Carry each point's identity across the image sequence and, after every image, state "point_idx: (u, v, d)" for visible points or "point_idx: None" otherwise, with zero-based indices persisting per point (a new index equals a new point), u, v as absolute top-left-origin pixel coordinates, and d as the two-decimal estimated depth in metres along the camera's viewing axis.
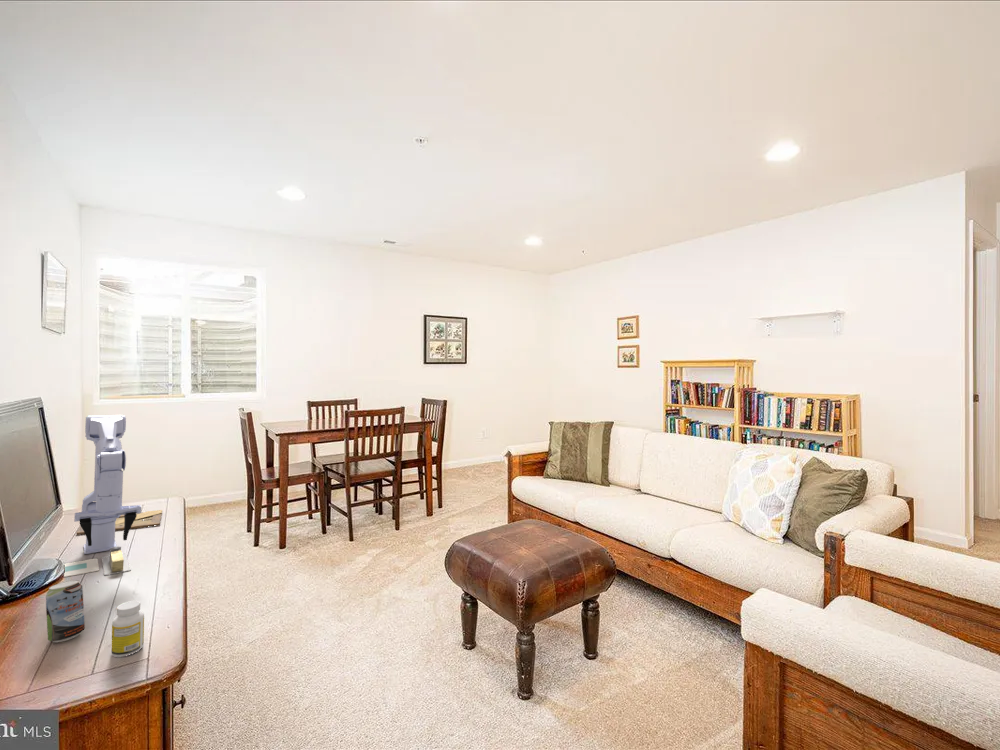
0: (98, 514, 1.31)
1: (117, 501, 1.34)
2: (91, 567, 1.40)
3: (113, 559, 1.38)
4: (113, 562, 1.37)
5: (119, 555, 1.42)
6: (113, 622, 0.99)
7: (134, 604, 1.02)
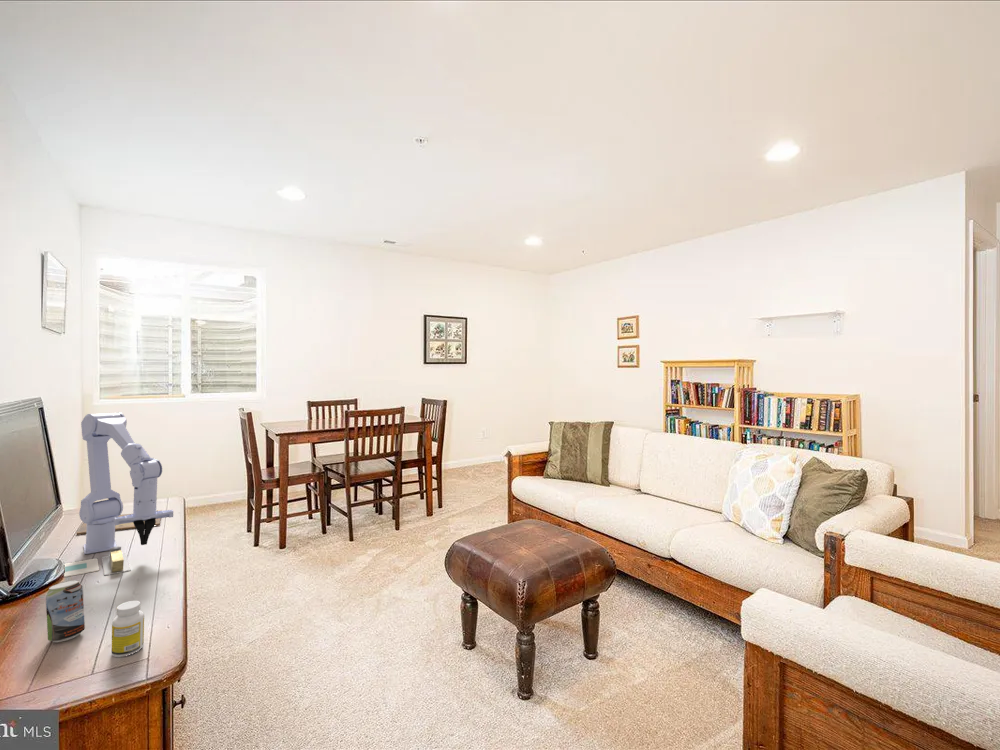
0: (136, 518, 1.44)
1: (152, 506, 1.47)
2: (91, 567, 1.40)
3: (113, 559, 1.38)
4: (113, 562, 1.37)
5: (119, 555, 1.42)
6: (113, 622, 0.99)
7: (134, 604, 1.02)
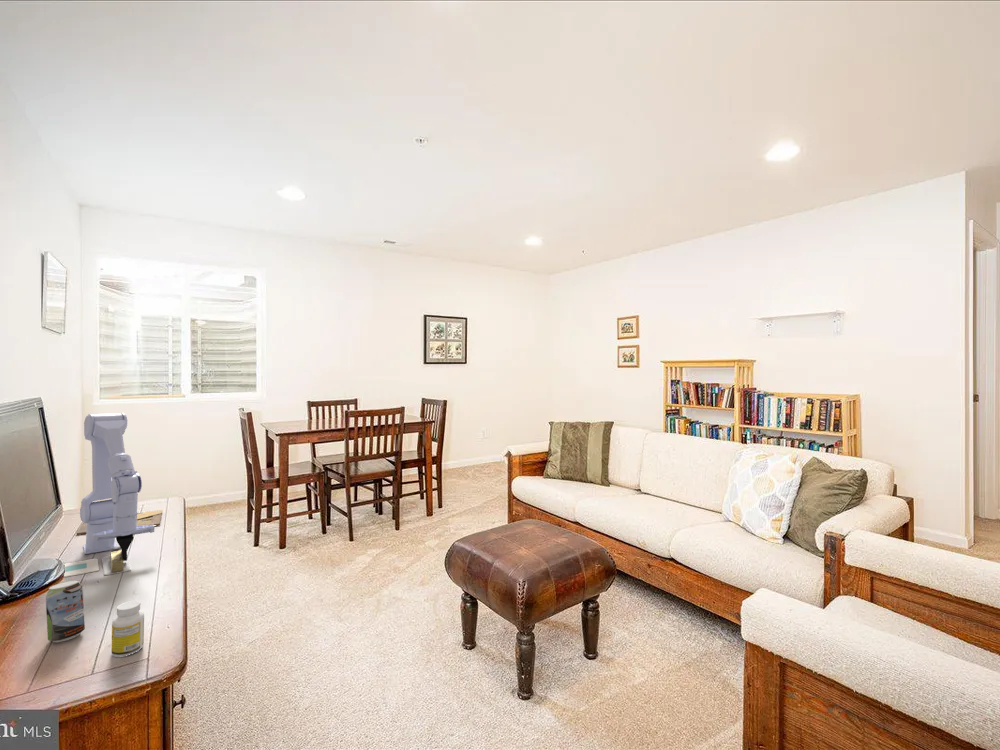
0: (115, 534, 1.41)
1: (132, 521, 1.43)
2: (91, 567, 1.40)
3: (113, 559, 1.38)
4: (113, 562, 1.37)
5: (119, 555, 1.42)
6: (113, 622, 0.99)
7: (134, 604, 1.02)
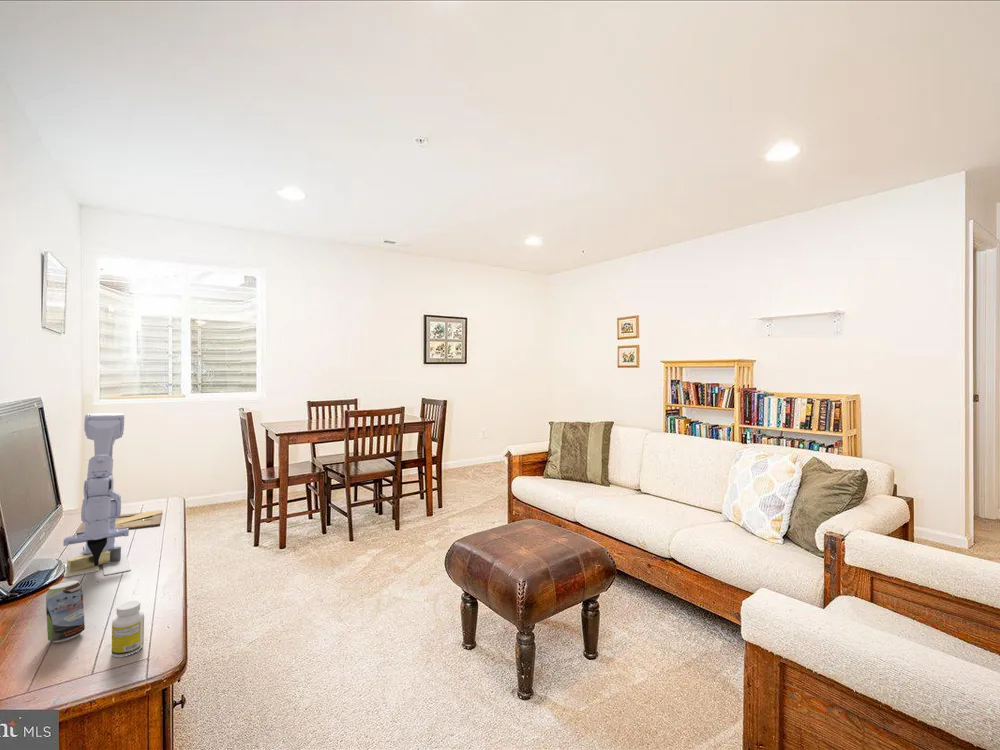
0: (86, 538, 1.36)
1: (105, 525, 1.39)
2: (91, 567, 1.40)
3: (76, 557, 1.39)
4: (67, 560, 1.37)
5: (90, 556, 1.40)
6: (113, 622, 0.99)
7: (134, 604, 1.02)
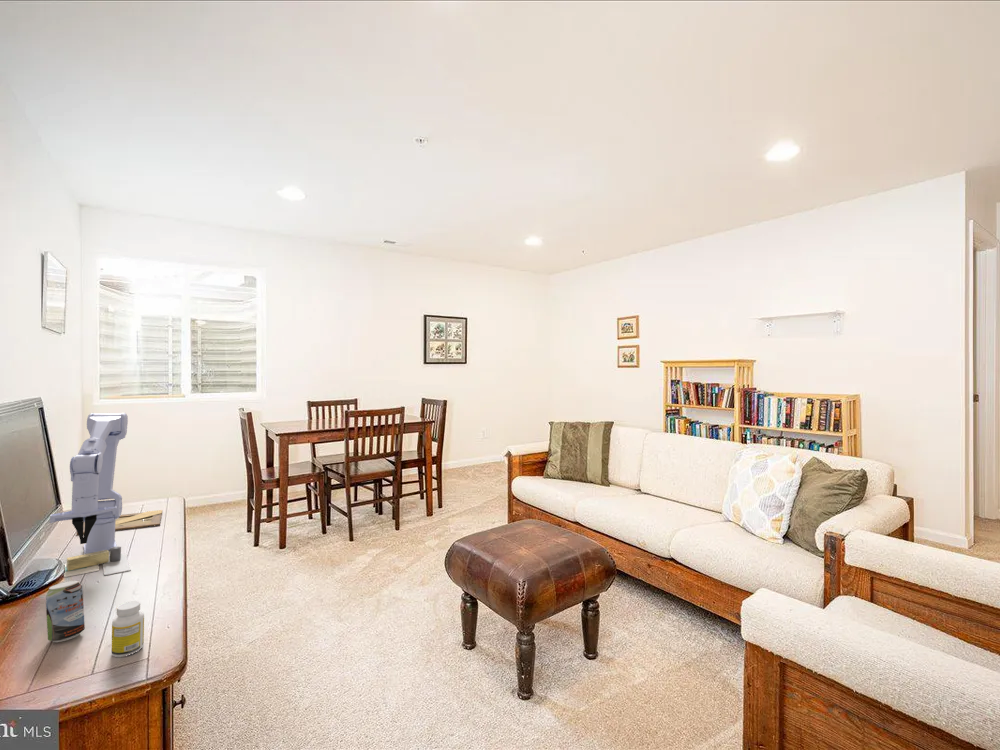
0: (73, 515, 1.34)
1: (92, 502, 1.37)
2: (91, 567, 1.40)
3: (75, 556, 1.39)
4: (67, 558, 1.38)
5: (89, 555, 1.41)
6: (113, 622, 0.99)
7: (134, 604, 1.02)
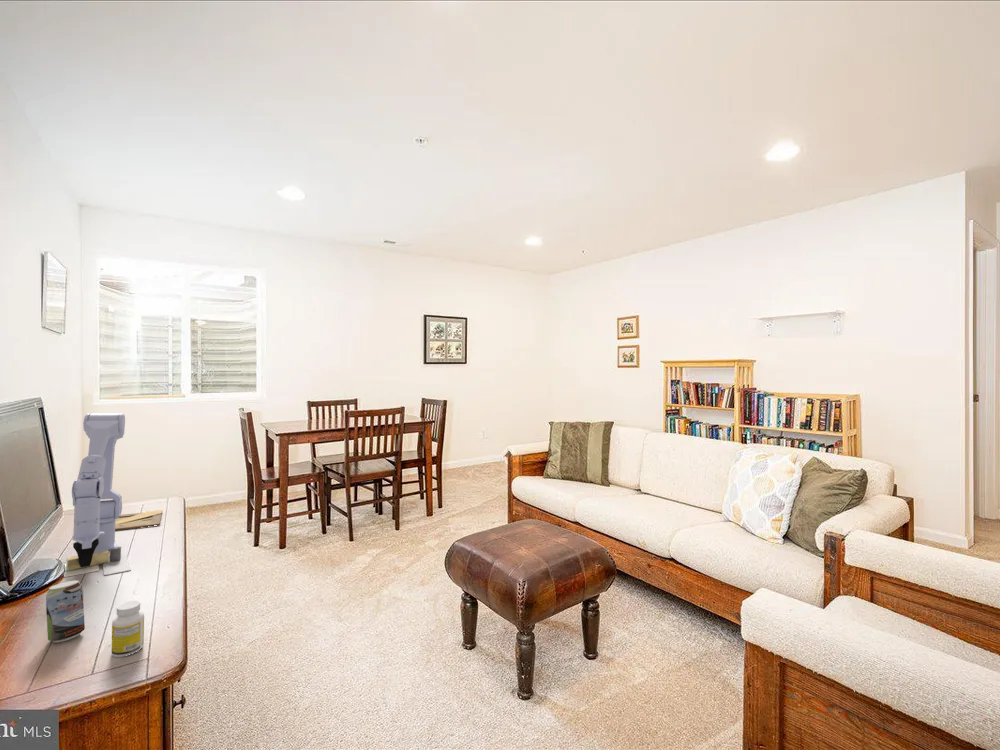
0: (97, 536, 1.39)
1: None
2: (91, 567, 1.40)
3: (75, 556, 1.39)
4: (67, 558, 1.38)
5: None
6: (113, 622, 0.99)
7: (134, 604, 1.02)
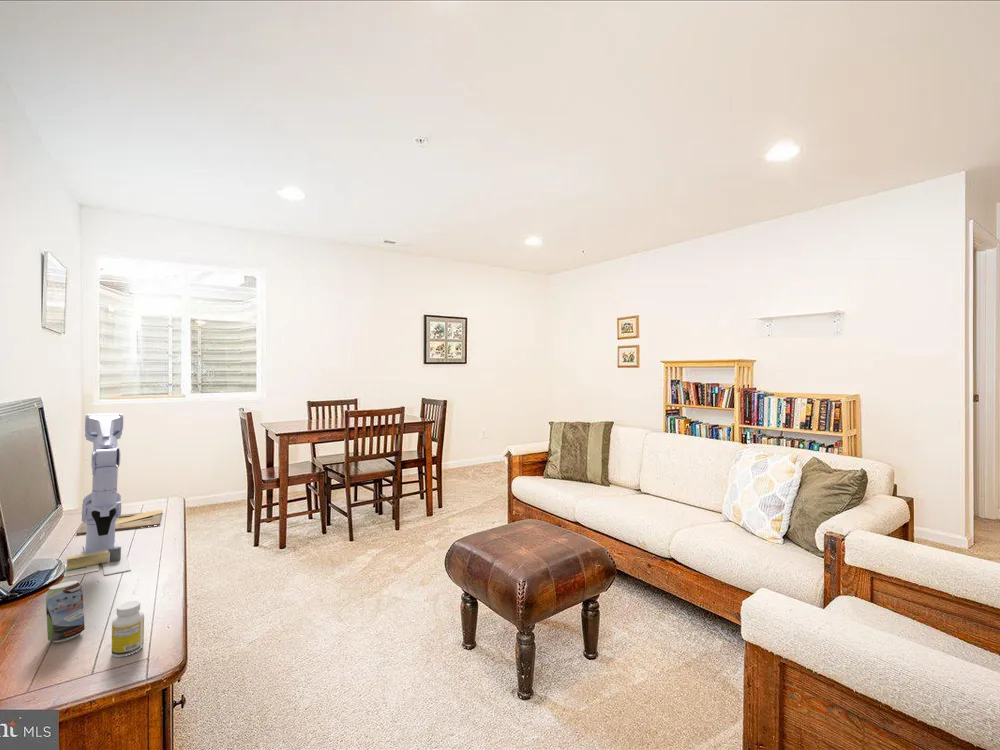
0: (114, 505, 1.41)
1: None
2: (91, 567, 1.40)
3: (75, 555, 1.40)
4: (67, 558, 1.39)
5: (88, 555, 1.41)
6: (113, 622, 0.99)
7: (134, 604, 1.02)
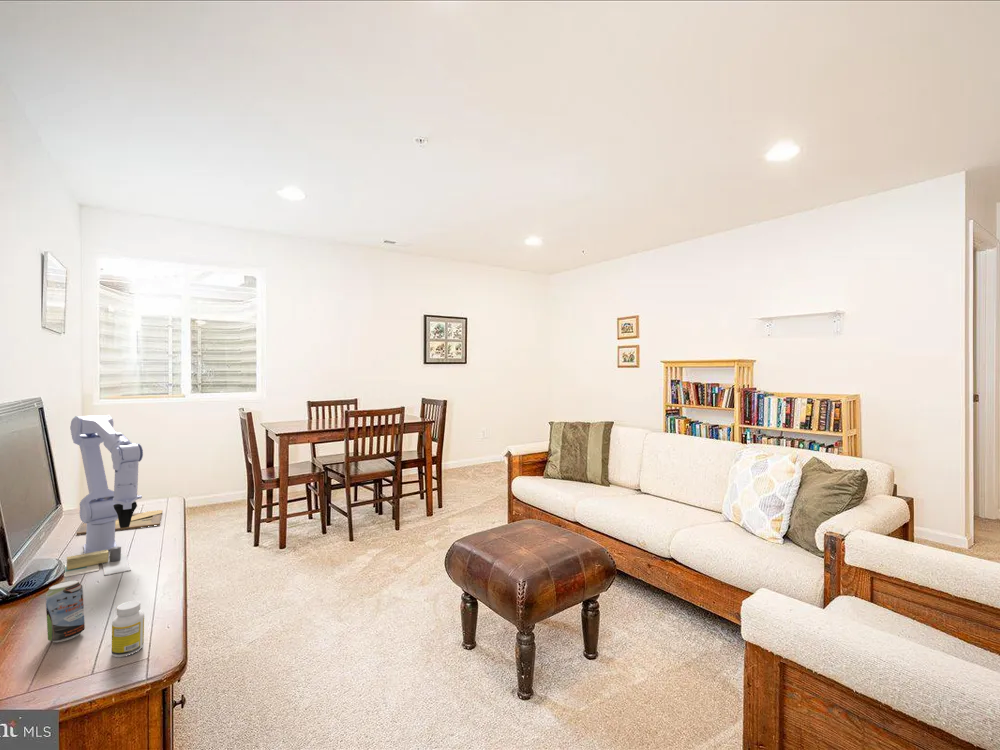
0: (136, 499, 1.47)
1: None
2: (91, 567, 1.40)
3: (75, 555, 1.40)
4: (67, 558, 1.39)
5: (88, 555, 1.41)
6: (113, 622, 0.99)
7: (134, 604, 1.02)
